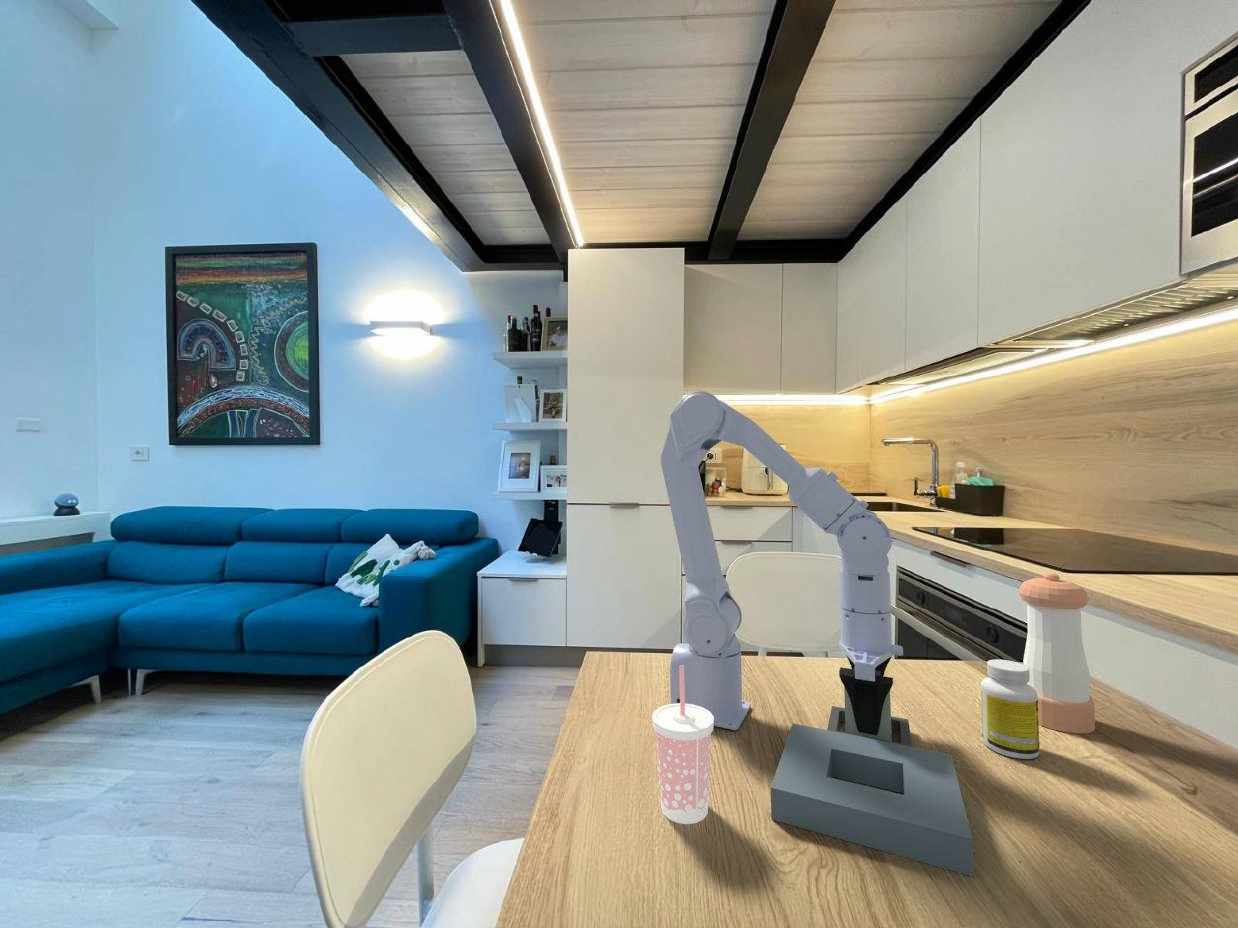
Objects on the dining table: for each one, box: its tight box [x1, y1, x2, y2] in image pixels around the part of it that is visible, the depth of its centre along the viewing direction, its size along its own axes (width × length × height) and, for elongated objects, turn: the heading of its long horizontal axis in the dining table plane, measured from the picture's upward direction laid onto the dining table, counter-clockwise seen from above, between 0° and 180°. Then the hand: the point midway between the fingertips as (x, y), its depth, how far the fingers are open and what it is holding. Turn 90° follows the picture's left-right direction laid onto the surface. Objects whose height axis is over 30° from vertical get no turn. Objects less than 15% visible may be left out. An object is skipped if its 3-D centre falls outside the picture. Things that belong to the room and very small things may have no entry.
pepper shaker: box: [1018, 572, 1096, 735], centre depth 67 cm, size 7×7×19 cm
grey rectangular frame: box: [826, 705, 913, 747], centre depth 63 cm, size 9×8×2 cm
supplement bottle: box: [980, 659, 1040, 760], centre depth 61 cm, size 5×5×10 cm
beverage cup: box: [651, 665, 715, 825], centre depth 51 cm, size 6×6×14 cm
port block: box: [770, 723, 975, 878], centre depth 51 cm, size 16×14×3 cm
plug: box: [843, 668, 893, 742], centre depth 63 cm, size 5×4×8 cm
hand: (868, 718), depth 63 cm, fingers open, 7 cm apart
